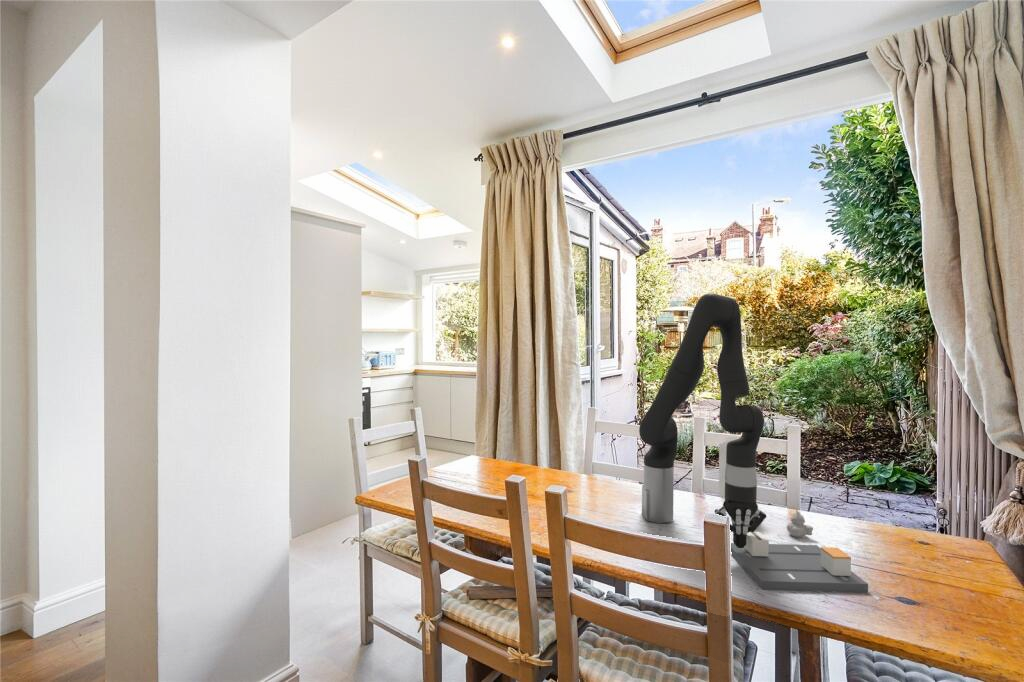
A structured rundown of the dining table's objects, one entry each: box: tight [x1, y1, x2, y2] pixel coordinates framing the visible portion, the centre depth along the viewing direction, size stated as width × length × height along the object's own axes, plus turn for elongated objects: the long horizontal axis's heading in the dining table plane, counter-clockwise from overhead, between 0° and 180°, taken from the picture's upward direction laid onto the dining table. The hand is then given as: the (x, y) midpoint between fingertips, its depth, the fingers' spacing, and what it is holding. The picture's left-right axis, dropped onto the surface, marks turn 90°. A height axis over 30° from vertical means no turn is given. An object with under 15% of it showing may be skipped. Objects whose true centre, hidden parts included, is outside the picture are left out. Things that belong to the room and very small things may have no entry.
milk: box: [718, 435, 738, 498], centre depth 173 cm, size 6×6×22 cm
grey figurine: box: [786, 509, 814, 538], centre depth 139 cm, size 5×7×8 cm
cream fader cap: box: [744, 531, 770, 556], centre depth 125 cm, size 4×5×4 cm
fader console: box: [730, 542, 869, 593], centre depth 120 cm, size 24×20×2 cm
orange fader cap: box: [820, 546, 852, 576], centre depth 115 cm, size 4×5×4 cm
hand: (739, 546), depth 125 cm, fingers closed
